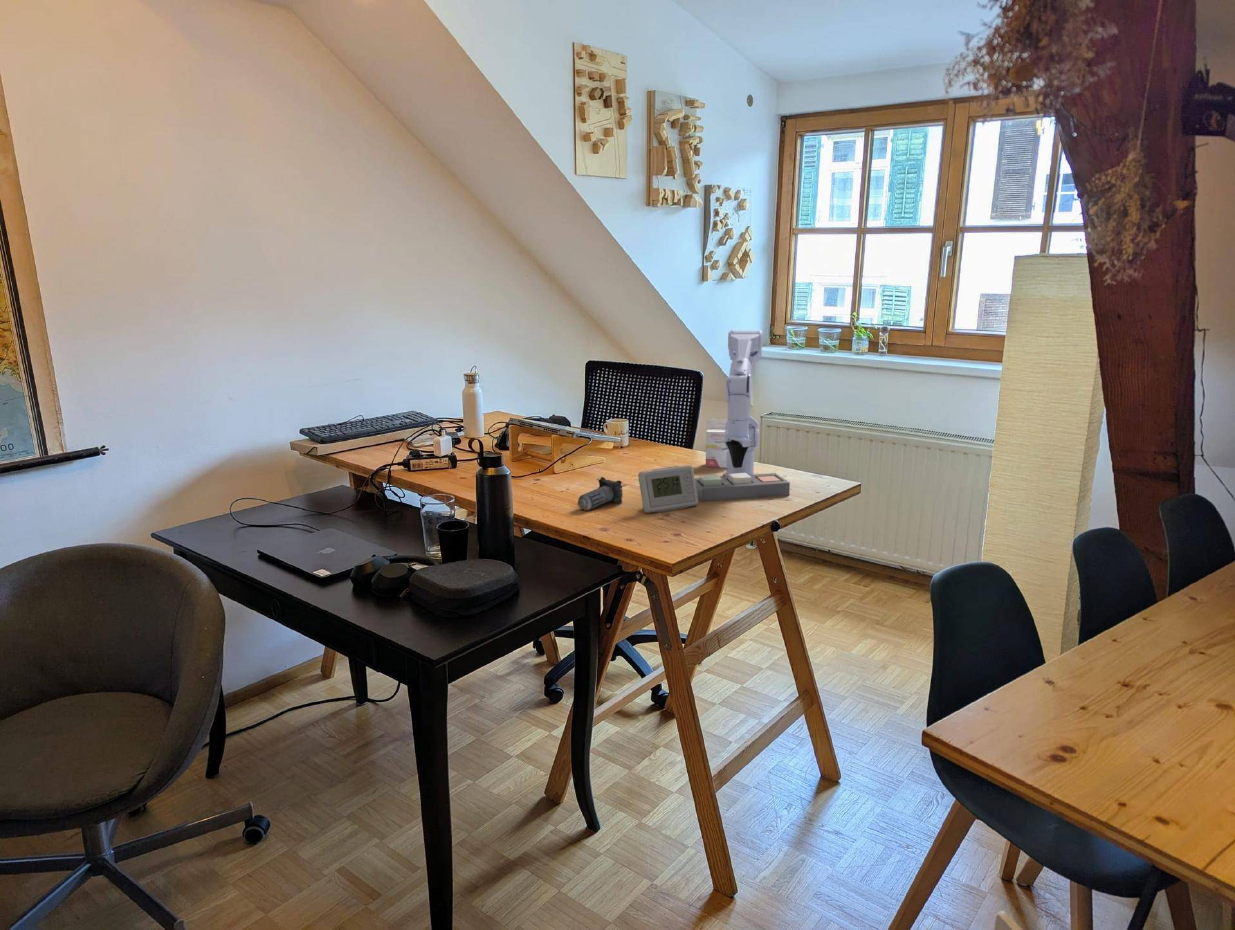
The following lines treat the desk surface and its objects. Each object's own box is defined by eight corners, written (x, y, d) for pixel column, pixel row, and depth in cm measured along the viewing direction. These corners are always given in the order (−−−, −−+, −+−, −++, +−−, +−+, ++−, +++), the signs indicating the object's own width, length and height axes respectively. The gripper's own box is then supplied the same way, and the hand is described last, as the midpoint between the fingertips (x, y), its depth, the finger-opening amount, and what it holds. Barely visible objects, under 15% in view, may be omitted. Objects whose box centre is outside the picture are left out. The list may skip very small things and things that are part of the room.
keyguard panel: (691, 490, 225) (691, 478, 224) (774, 484, 229) (775, 473, 228) (701, 501, 214) (701, 488, 214) (789, 494, 219) (789, 482, 218)
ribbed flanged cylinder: (604, 503, 220) (574, 516, 211) (598, 476, 218) (568, 488, 210) (628, 503, 213) (599, 516, 205) (623, 475, 212) (593, 487, 204)
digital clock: (642, 515, 204) (642, 475, 201) (634, 505, 212) (634, 467, 210) (702, 510, 207) (703, 470, 204) (692, 500, 216) (692, 462, 213)
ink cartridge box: (705, 467, 250) (705, 422, 246) (705, 464, 255) (705, 419, 251) (733, 467, 249) (733, 422, 246) (732, 464, 254) (733, 419, 250)
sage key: (699, 481, 222) (699, 475, 221) (716, 480, 222) (716, 474, 222) (704, 486, 217) (704, 480, 216) (721, 485, 218) (721, 479, 217)
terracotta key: (757, 483, 225) (757, 476, 224) (773, 481, 226) (774, 475, 225) (763, 487, 220) (763, 481, 219) (780, 486, 221) (780, 480, 220)
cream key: (728, 480, 223) (728, 473, 223) (745, 478, 224) (745, 472, 223) (734, 484, 218) (734, 478, 218) (751, 483, 219) (751, 477, 219)
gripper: (715, 415, 223) (715, 462, 226) (732, 424, 209) (732, 474, 212) (739, 413, 224) (738, 460, 227) (758, 423, 210) (757, 472, 213)
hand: (737, 467), depth 220 cm, fingers closed
